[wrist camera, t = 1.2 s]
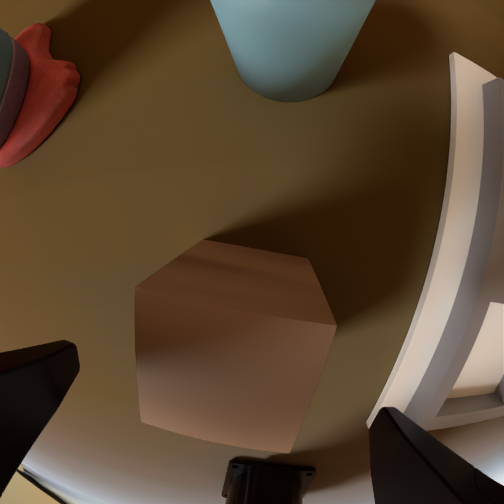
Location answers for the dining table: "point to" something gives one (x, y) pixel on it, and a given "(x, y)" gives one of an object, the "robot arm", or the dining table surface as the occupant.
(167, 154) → the dining table surface
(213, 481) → the dining table surface
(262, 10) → the teal cylinder
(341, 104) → the dining table surface
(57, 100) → the stacking bear
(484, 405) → the tray
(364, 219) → the dining table surface
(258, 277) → the walnut block
